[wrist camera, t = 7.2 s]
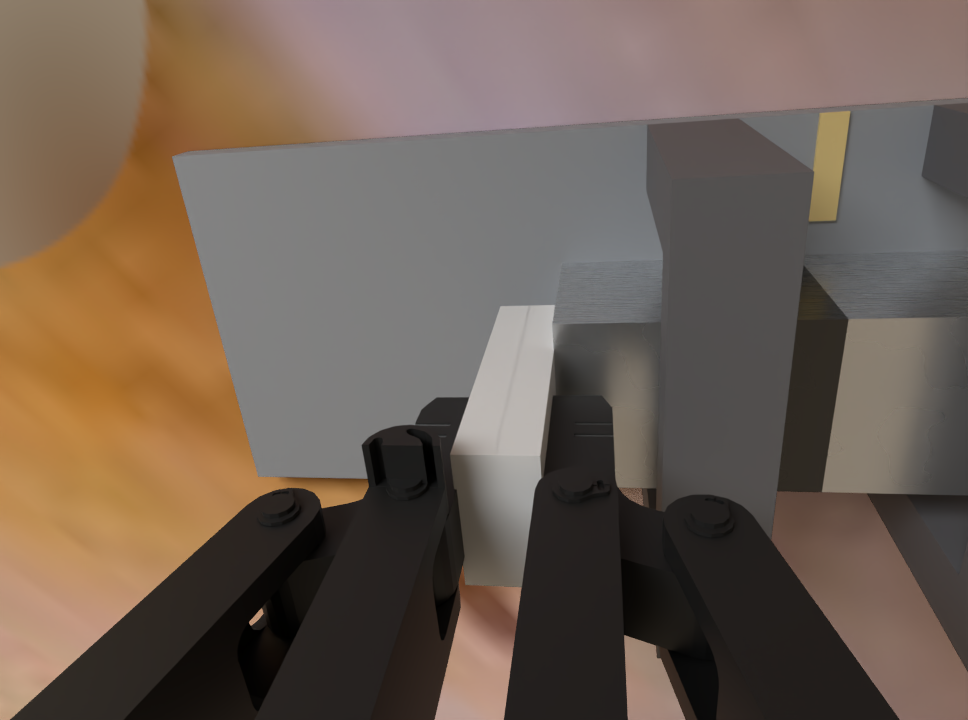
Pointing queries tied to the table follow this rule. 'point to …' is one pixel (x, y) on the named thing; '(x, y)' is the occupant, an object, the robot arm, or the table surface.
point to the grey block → (800, 369)
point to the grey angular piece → (536, 271)
